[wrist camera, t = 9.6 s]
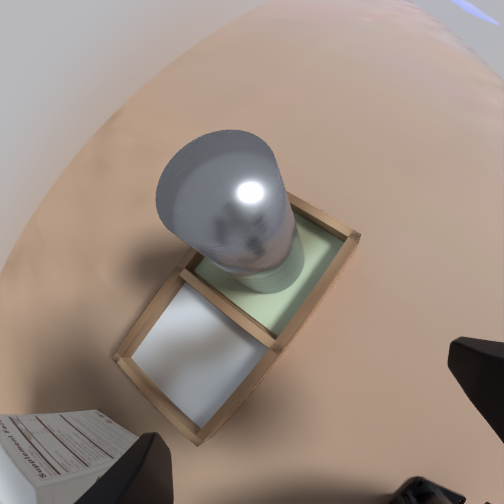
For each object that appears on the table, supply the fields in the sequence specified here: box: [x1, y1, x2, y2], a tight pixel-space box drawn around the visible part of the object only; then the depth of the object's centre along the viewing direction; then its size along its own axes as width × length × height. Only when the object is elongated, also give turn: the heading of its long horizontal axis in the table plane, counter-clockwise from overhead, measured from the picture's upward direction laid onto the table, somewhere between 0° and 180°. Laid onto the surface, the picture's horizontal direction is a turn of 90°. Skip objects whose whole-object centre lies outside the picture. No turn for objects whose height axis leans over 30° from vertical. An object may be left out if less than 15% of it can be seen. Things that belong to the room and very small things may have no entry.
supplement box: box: [0, 409, 139, 504], centre depth 12 cm, size 7×7×13 cm
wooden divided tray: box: [113, 191, 361, 446], centre depth 19 cm, size 9×17×2 cm, turn 142°
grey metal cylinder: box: [156, 130, 305, 294], centre depth 15 cm, size 5×5×10 cm
